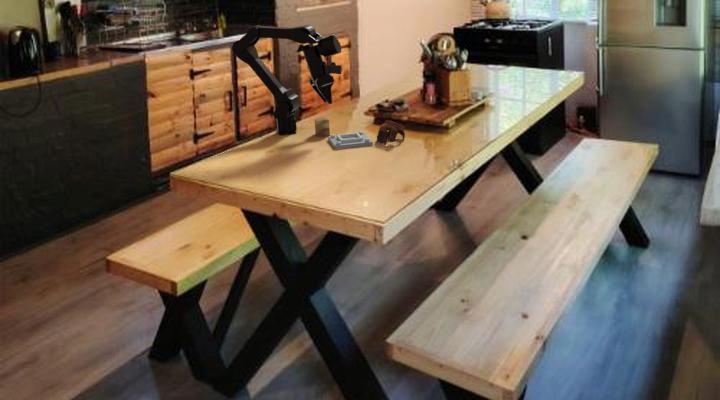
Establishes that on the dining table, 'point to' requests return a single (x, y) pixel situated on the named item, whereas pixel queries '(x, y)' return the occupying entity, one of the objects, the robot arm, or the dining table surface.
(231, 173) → the dining table surface
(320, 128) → the block
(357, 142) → the board
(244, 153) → the dining table surface
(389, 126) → the pottery mug
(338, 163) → the dining table surface
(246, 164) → the dining table surface
